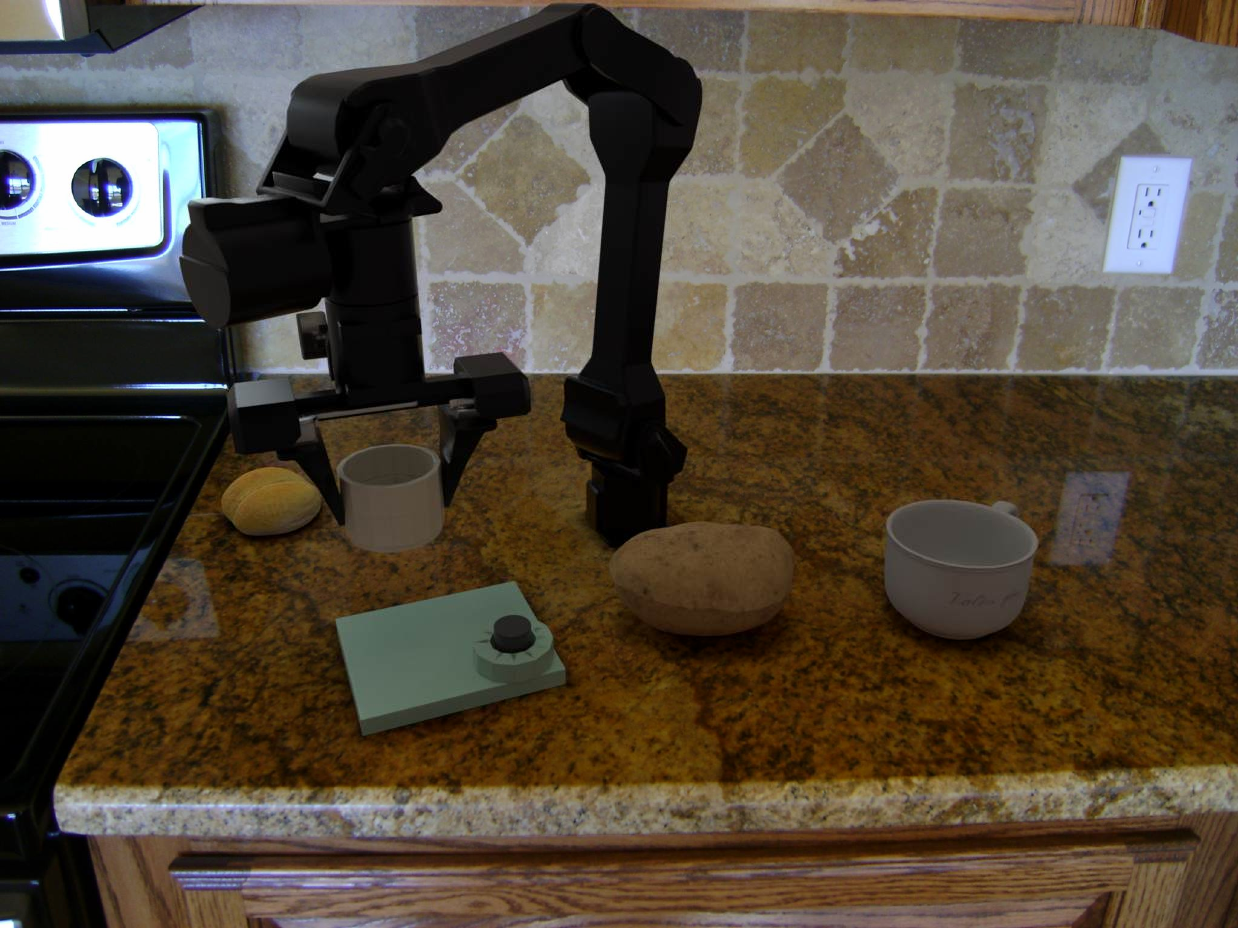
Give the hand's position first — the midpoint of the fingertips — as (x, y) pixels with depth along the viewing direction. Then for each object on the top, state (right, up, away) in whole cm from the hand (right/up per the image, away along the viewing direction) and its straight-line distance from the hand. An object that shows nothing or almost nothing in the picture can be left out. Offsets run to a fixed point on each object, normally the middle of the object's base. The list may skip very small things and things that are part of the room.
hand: (394, 513), depth 65 cm
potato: (+22, -9, +7) cm, 25 cm away
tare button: (+8, -9, 0) cm, 12 cm away
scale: (+3, -11, +3) cm, 12 cm away
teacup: (+43, -8, +10) cm, 44 cm away
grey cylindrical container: (0, -1, +1) cm, 1 cm away
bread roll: (-17, -2, +22) cm, 28 cm away
